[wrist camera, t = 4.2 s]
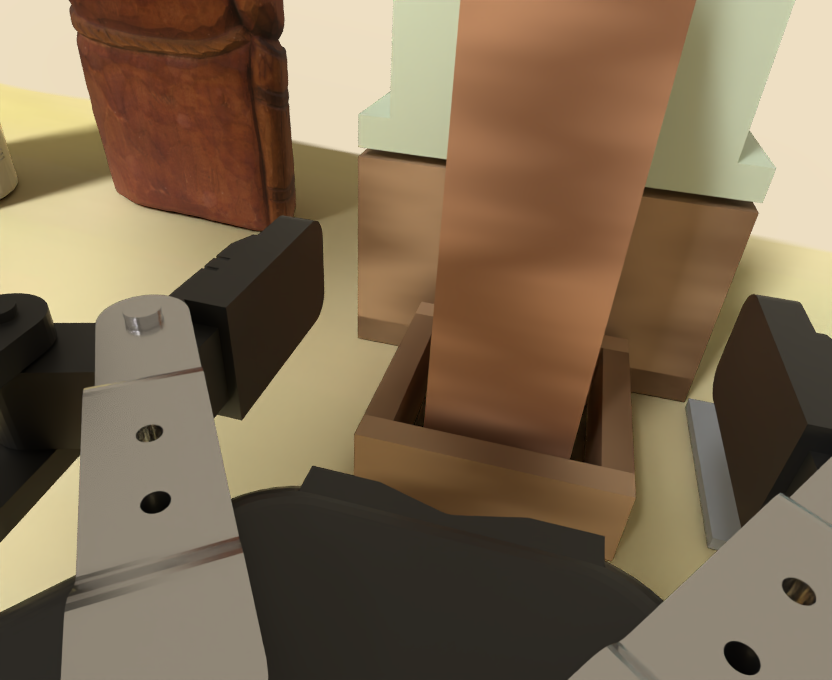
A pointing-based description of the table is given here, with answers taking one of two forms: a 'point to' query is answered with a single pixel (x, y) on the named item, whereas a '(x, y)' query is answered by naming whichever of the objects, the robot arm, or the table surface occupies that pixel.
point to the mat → (712, 474)
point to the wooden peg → (541, 205)
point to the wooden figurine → (192, 104)
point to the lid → (685, 114)
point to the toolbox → (614, 371)
